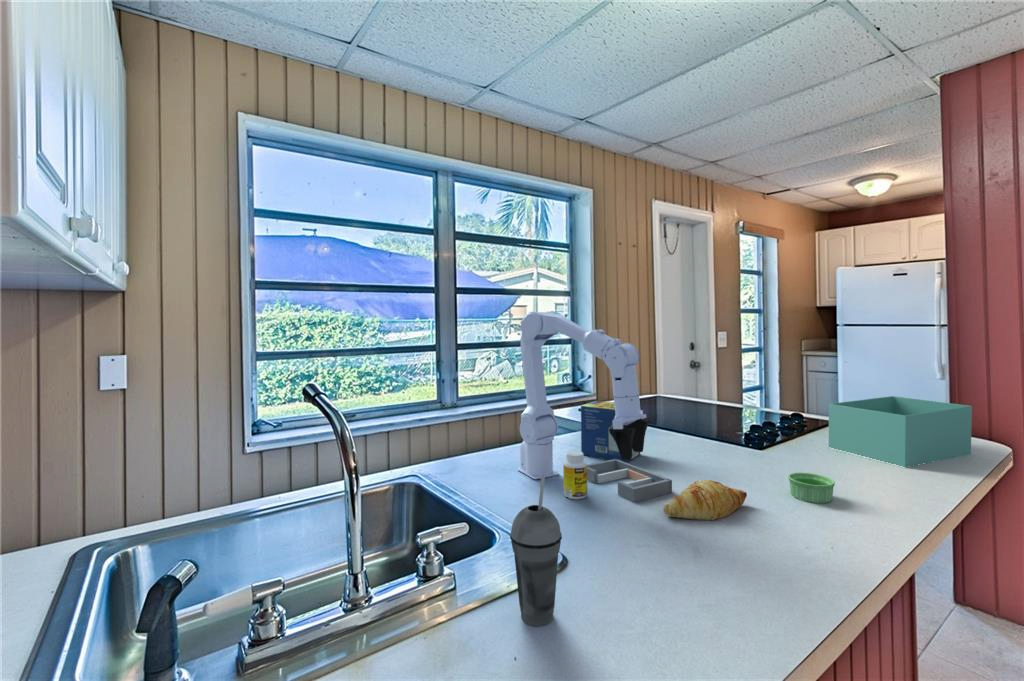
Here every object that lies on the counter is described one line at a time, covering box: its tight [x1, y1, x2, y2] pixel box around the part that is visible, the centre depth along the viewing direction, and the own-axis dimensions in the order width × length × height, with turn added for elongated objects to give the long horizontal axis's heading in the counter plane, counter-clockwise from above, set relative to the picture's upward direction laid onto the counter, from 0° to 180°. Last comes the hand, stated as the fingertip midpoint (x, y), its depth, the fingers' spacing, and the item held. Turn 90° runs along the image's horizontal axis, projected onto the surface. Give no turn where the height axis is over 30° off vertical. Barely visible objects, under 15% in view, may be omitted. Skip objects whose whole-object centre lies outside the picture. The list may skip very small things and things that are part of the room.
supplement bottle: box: [562, 450, 588, 500], centre depth 109 cm, size 6×6×10 cm
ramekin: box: [788, 472, 836, 504], centre depth 106 cm, size 9×9×4 cm
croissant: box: [662, 479, 748, 521], centre depth 99 cm, size 21×10×8 cm
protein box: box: [580, 400, 641, 464], centre depth 142 cm, size 10×15×16 cm
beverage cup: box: [509, 475, 563, 628], centre depth 64 cm, size 7×7×20 cm
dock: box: [587, 459, 673, 503], centre depth 116 cm, size 20×12×3 cm, turn 28°
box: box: [828, 395, 973, 468], centre depth 140 cm, size 21×32×14 cm, turn 112°
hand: (632, 455), depth 106 cm, fingers open, 7 cm apart
